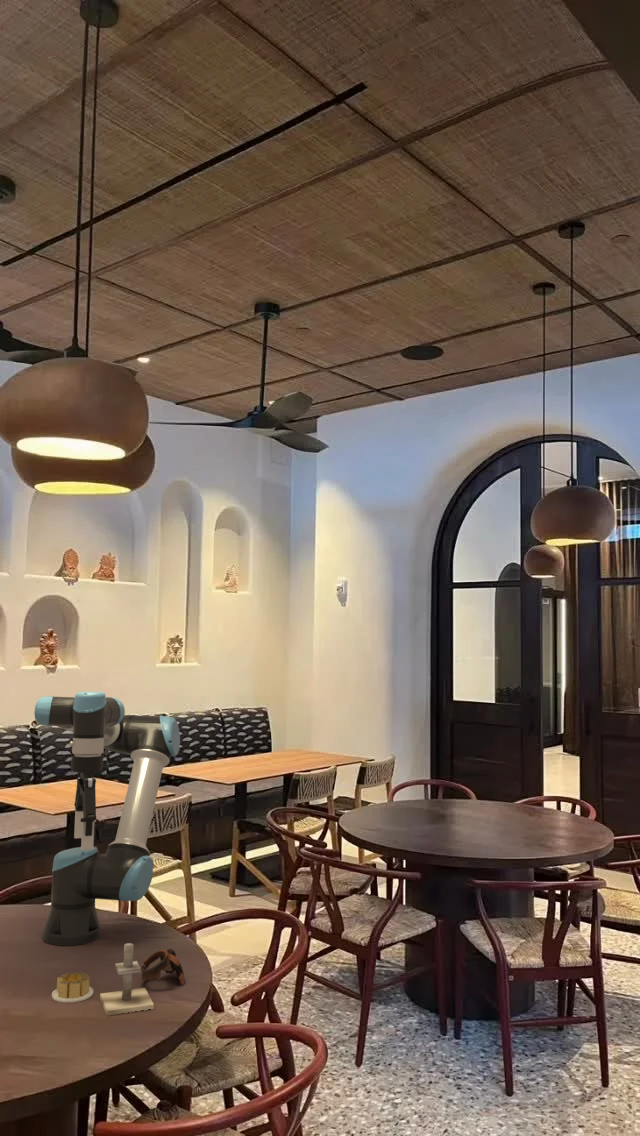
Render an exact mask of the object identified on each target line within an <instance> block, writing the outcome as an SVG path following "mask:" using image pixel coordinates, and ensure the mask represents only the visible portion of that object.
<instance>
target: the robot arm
mask: <svg viewBox="0 0 640 1136" xmlns="http://www.w3.org/2000/svg"><path fill="white" fill-rule="evenodd" d="M33 715H34V720H35V721H36V723H37V724H38V725H40V726H47V727H50V726H51V727H52V726H53V727H58V728H60V729H64V730H66V731H69V732H71V733H72V741H70V742H69V745H70V746H72V748H71V752H72V753H71V754H73V755H72V756H71V759H70V760H71V765H70V769H71V772H74V773H76V775H77V779H76V790H75V791H76V792H75V796H74V797H75V799H74V804H73V805H74V810H75V815H74V833H73V835H74V836H73V838H74V839H81V845H80V846H78V847H77V846H76V847H72V848H68V849H64V850H61V851H59V852H58V853H56V854H55V855H54V858H53V861H52V862H53V863H52V869H51V874H52V875H51V876H52V877H51V895H50V897H51V899H50V900H51V901H50V910H49V913H48V916H47V918H46V922H44V923H45V924H44V926H43V929H42V940H43V941H44V943H47V944H50V945H54V946H55V945H56V946H77V945H82V944H86V943H87V944H88V943H91V942H93V941H96V940H97V939H98V938H100V936H101V923H100V919H99V916H98V912H97V908H96V900H105V901H106V900H111V901H121V902H136V901H139V900H141V899H142V898H143V897H144V896H145V895H146V894H147V892H148V890H149V888H150V886H151V883H152V881H153V877H154V867H155V864H154V860H153V858H152V857H151V856H150V854H151V852H150V851H149V849H148V847H147V841H148V838H149V832H150V827H151V824H152V819H153V814H154V809H155V805H156V802H157V798H158V797H157V796H158V791H159V786H160V782H161V778H162V773H163V769H164V768H165V767H166V766H168V765H169V764H170V761H171V757H176V756H177V755H178V754H179V752H180V746H181V734H180V729H179V724H178V722H177V720H176V718H174V717H172V716H166V715H137V714H136V715H135V714H126V710H125V705H124V703H123V702H122V701H121V700H120V699H118V698H116V697H112V696H111V697H109V696H106V694H105V692H103V691H79V692H76V693H75V695H74V697H73V696H70V697H69V696H54V695H52V696H42V697H39V699H38V700H37V702H36V703H35V706H34V714H33ZM104 749H106V750H109V751H113V752H116V753H119V754H125V755H130V758H131V760H132V761H133V765H132V769H131V774H130V778H129V782H128V785H127V791H126V794H125V798H124V802H123V807H122V810H121V815H120V819H119V822H118V827H117V832H116V835H115V839H114V840H113V841H112V842H111V843H109V844H108V845H107V849H106V853H99V850H98V847H97V846H94V842H95V841H94V839H95V838H94V837H95V821H96V820H97V806H96V805H97V802H96V801H97V800H96V799H97V797H96V795H97V794H96V782H97V779H96V778H95V777H94V773H99V772H101V771H103V766H104V756H103V755H102V754H104V752H105V751H104Z"/></svg>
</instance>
